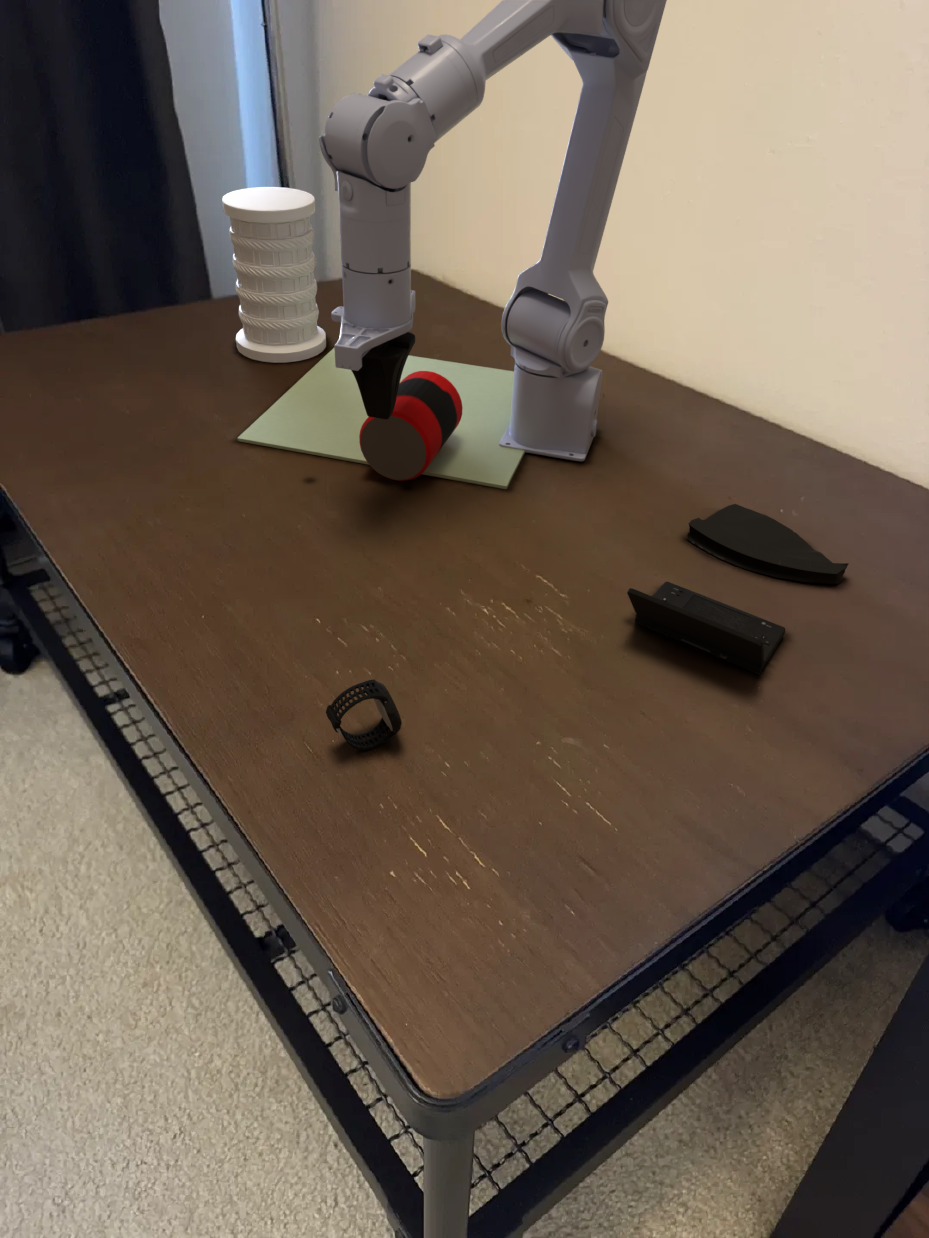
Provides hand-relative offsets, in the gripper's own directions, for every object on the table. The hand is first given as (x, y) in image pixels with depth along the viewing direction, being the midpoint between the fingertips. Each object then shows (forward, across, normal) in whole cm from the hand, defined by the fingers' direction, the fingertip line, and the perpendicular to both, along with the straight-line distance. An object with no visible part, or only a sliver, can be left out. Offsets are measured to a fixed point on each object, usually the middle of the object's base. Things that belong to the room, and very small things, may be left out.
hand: (379, 415), depth 83 cm
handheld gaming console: (+10, +11, +32) cm, 35 cm away
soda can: (+5, -3, 0) cm, 6 cm away
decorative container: (+10, -33, -26) cm, 43 cm away
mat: (+9, -21, -4) cm, 23 cm away
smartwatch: (+10, +30, +10) cm, 33 cm away
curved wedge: (+10, -4, +36) cm, 37 cm away
